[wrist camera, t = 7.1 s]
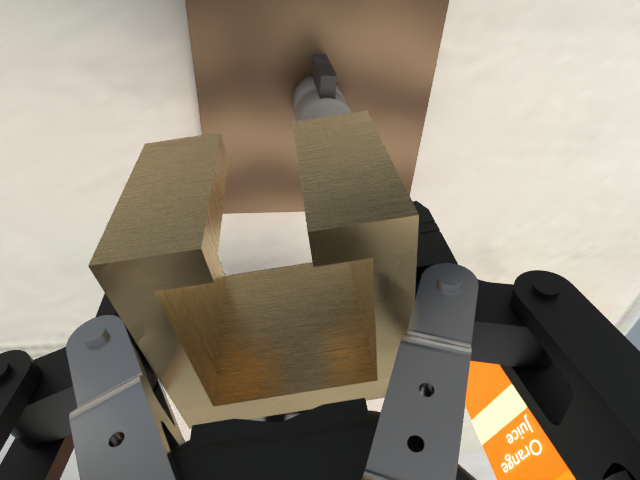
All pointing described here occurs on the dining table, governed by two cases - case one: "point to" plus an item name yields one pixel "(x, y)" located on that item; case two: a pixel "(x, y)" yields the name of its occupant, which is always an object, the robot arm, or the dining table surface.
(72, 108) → the dining table surface
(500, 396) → the orange juice
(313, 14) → the shaft stand
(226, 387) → the slotted square frame
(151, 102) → the dining table surface
